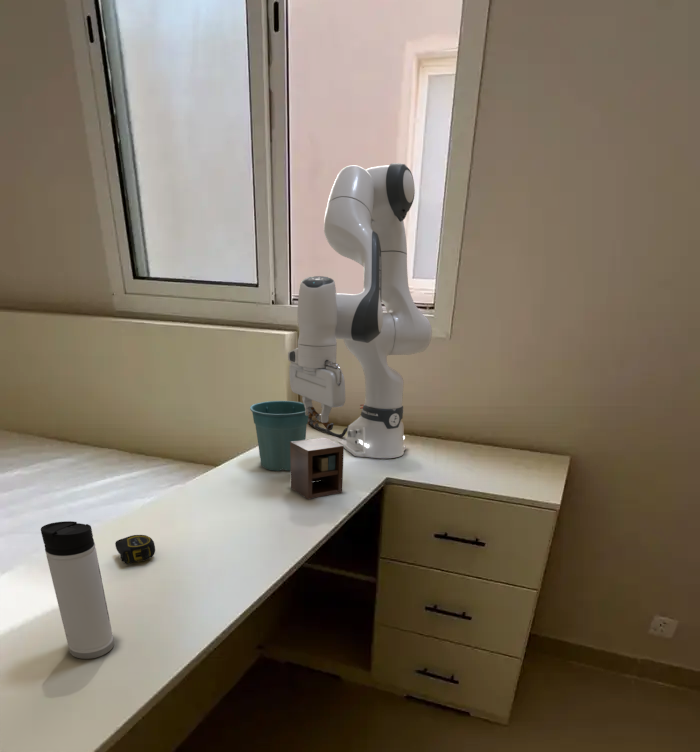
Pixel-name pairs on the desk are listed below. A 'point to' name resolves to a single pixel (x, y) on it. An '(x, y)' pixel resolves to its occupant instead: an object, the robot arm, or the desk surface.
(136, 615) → the desk surface
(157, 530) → the desk surface
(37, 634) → the desk surface
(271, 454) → the flower pot
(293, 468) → the shelf
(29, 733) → the desk surface
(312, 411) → the hinged wooden rods
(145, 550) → the tape measure
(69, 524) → the travel mug
